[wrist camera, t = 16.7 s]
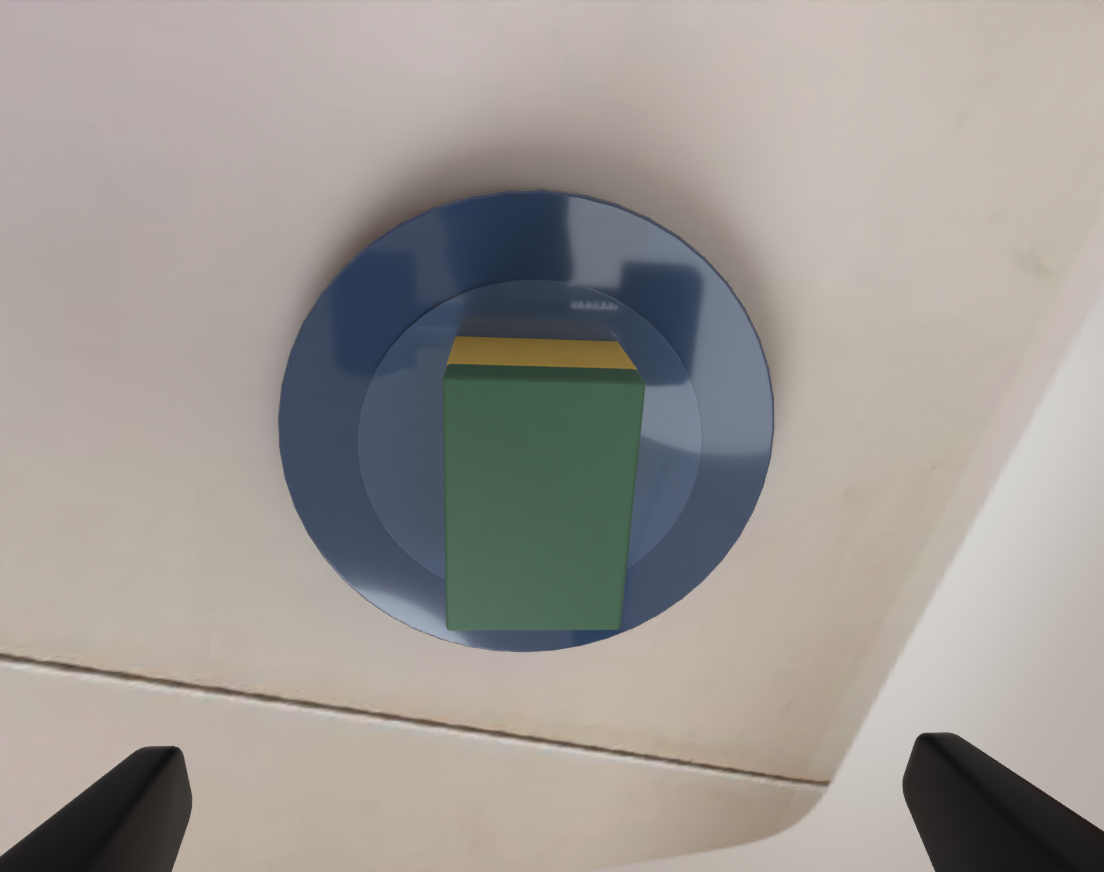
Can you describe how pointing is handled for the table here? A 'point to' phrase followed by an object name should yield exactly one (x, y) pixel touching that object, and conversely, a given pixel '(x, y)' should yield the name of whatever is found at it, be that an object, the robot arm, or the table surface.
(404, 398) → the plate
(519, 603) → the sponge
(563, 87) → the table surface
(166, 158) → the table surface
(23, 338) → the table surface
